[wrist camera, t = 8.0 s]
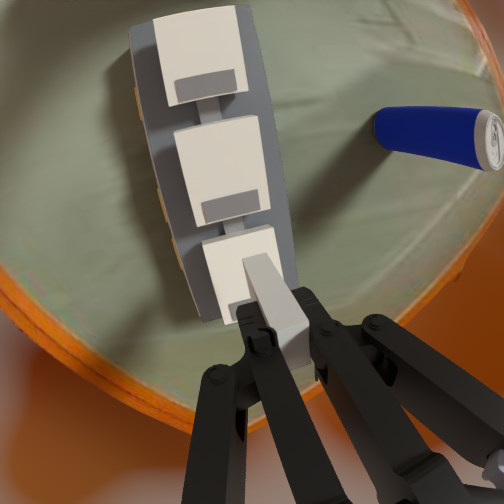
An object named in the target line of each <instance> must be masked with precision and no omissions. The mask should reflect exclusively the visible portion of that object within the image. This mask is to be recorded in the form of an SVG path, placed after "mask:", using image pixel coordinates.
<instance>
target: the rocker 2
mask: <svg viewBox="0 0 504 504" xmlns="http://www.w3.org/2000/svg"><path fill="white" fill-rule="evenodd" d="M174 137H175V142H176V146H177V150H178V154H179V159H180V163H181V167H182V171H183V175H184V179H185V183H186V187H187V191H188V195H189V198H190V202H191V206H192V210H193V214H194V217H195V221H196V225H197V227H200V226H203V225H207V224H211V223H215V222H219V221H223V220H227V219H231V218H235V217H239V216H243V215H247V214H251V213H255V212H260V211H264V210H268V209H271V207H270V199H269V192H268V184H267V177H266V170H265V163H264V156H263V149H262V142H261V135H260V128H259V122H258V116H255V115H247V116H241V117H235V118H230V119H225V120H220V121H215V122H210V123H205V124H201V125H197V126H192V127H188V128H184V129H180V130H176V131H174Z"/></svg>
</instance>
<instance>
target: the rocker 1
mask: <svg viewBox="0 0 504 504" xmlns="http://www.w3.org/2000/svg"><path fill="white" fill-rule="evenodd" d="M153 23H154V30H155V36H156V42H157V48H158V53H159V59H160V64H161V70H162V75H163V80H164V85H165V90H166V95H167V100H168V105H169V107H170V106H174V105H178V104H182V103H186V102H191V101H195V100H200V99H204V98H209V97H214V96H220V95H225V94H231V93H237V92H244V91H249V89H248V83H247V77H246V70H245V64H244V58H243V52H242V46H241V40H240V34H239V28H238V23H237V17H236V11H235V6H234V5H233V6H222V7H214V8H206V9H200V10H193V11H188V12H182V13H177V14H173V15H168V16H164V17H160V18H156V19H153Z"/></svg>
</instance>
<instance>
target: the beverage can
mask: <svg viewBox="0 0 504 504" xmlns="http://www.w3.org/2000/svg"><path fill="white" fill-rule="evenodd" d="M374 132H375V135H376V138H377V139H378V141H379V143H380V144H381V145H382V146H383V147H384V148H386V149H388V150H393V151H399V152H405V153H411V154H416V155H421V156H426V157H431V158H436V159H441V160H445V161H449V162H453V163H457V164H461V165H465V166H469V167H473V168H476V169H480V170H483V171H496V170H499V169H500V168H501V167H502V165H503V163H504V126H503V124H502V121H501V120H500V118H499V117H498V116H497V115H495V114H493V113H491V112H489V111H487V110H483V109H473V108H459V107H436V106H406V107H385V108H383V109H381V110H380V111H379V112H378V113H377V115H376V117H375V120H374Z"/></svg>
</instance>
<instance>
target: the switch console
mask: <svg viewBox="0 0 504 504" xmlns="http://www.w3.org/2000/svg"><path fill="white" fill-rule="evenodd" d="M235 11H236V17H237V23H238V28H239V34H240V40H241V46H242V52H243V58H244V64H245V70H246V77H247V83H248V89H249V91H244V92H237V93H231V94H225V95H220V96H214V97H209V98H204V99H200V100H195V101H191V102H186V103H182V104H178V105H174V106H170V107H169V105H168V100H167V95H166V90H165V85H164V80H163V75H162V70H161V64H160V59H159V53H158V48H157V42H156V36H155V30H154V23H153V20H151V21H147V22H143V23H140V24H137V25H133V26H130V27H129V31H130V33H129V34H128V36H129V44H130V52H131V59H132V65H133V72H134V78H135V84H136V87H134V90H135V96H136V101H137V106H138V111H139V116H140V120H141V121H143V125H144V130H145V134H146V139H147V143H148V148H149V152H150V156H151V160H152V164H153V168H154V172H155V176H156V180H157V184H158V188H157V192H158V196H159V199H160V203H161V206H162V210H163V213H164V217H165V220H166V223H167V222H168V223H169V227H170V230H171V234H172V239H171V240H172V243H173V247H174V250H175V253H176V256H177V259H178V262H179V265H180V268H181V270H182V269H183V271H184V274H185V277H186V280H187V283H188V286H189V289H190V292H191V295H192V297H193V300H194V303H195V306H196V309H197V311H198V314H199V317H200V316H201V318H202V321H203V322H207V321H211V320H214V319H218V318H222V313H221V310H220V307H219V303H218V300H217V296H216V293H215V290H214V286H213V283H212V279H211V276H210V272H209V268H208V265H207V261H206V258H205V254H204V250H203V246H202V241H203V240H207V239H211V238H215V237H219V236H222V235H226V234H230V233H234V232H238V231H242V230H246V229H250V228H254V227H258V226H262V225H266V224H269V225H270V226H272V227H274V232H275V237H276V242H277V247H278V253H279V258H280V263H281V268H282V273H283V279H284V281H285V283H286V285H287V286H288V288H289V290H294V289H297V288H299V284H298V276H297V267H296V258H295V250H294V242H293V235H292V227H291V220H290V213H289V206H288V199H287V192H286V185H285V179H284V172H283V166H282V160H281V154H280V148H279V142H278V136H277V131H276V125H275V120H274V114H273V109H272V104H271V98H270V93H269V88H268V83H267V78H266V74H265V69H264V64H263V59H262V55H261V50H260V46H259V41H258V37H257V33H256V29H255V24H254V20H253V16H252V12H251V8H250V5H241V6H235ZM247 115H255V116H258V122H259V128H260V135H261V142H262V149H263V156H264V163H265V170H266V177H267V184H268V192H269V199H270V207H271V209H268V210H264V211H260V212H255V213H251V214H247V215H243V216H239V217H235V218H231V219H227V220H223V221H219V222H215V223H211V224H207V225H203V226H200V227H197V225H196V221H195V217H194V214H193V210H192V206H191V202H190V198H189V195H188V191H187V187H186V183H185V179H184V175H183V171H182V167H181V163H180V159H179V154H178V150H177V146H176V142H175V137H174V131H176V130H180V129H184V128H188V127H192V126H197V125H201V124H205V123H210V122H215V121H220V120H225V119H230V118H235V117H241V116H247Z"/></svg>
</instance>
